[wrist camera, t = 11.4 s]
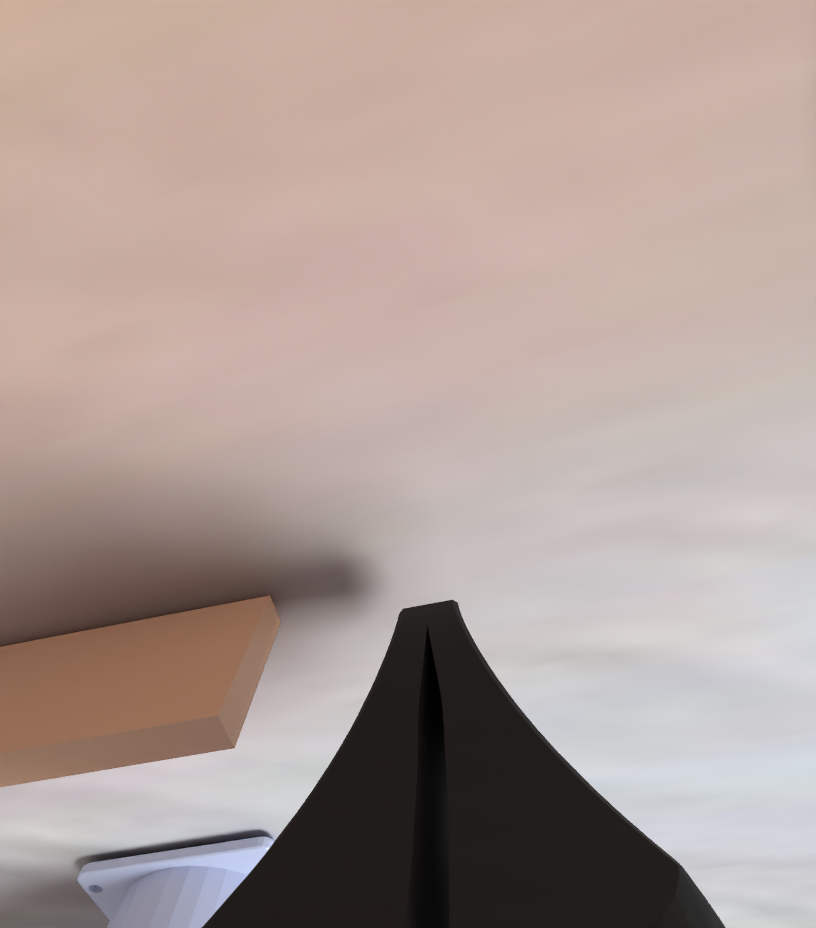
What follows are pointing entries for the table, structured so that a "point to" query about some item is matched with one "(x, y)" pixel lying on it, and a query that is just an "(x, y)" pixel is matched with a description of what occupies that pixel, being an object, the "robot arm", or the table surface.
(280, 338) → the table surface
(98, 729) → the orange-brown plank
